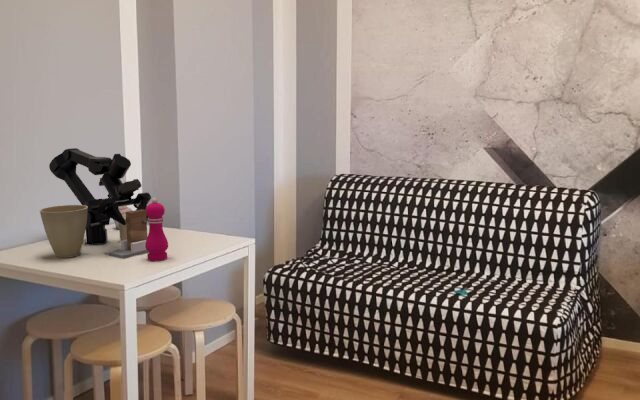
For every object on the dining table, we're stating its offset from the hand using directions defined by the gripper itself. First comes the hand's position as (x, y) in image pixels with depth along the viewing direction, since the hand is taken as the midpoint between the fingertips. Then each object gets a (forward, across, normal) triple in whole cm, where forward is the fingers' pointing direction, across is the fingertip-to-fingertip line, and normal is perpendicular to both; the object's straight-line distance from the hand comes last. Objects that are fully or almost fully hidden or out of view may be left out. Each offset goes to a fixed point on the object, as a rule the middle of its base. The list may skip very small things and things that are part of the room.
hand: (136, 222), depth 231 cm
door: (+6, 0, +6) cm, 9 cm away
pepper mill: (+17, -3, -2) cm, 17 cm away
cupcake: (-20, +23, +34) cm, 46 cm away
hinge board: (+7, 0, +7) cm, 10 cm away
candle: (-5, +8, +19) cm, 22 cm away
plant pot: (-4, -17, +18) cm, 25 cm away
